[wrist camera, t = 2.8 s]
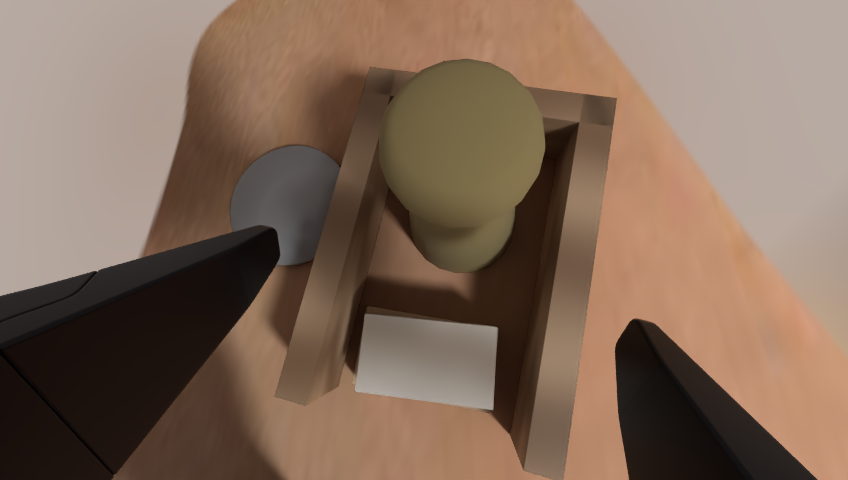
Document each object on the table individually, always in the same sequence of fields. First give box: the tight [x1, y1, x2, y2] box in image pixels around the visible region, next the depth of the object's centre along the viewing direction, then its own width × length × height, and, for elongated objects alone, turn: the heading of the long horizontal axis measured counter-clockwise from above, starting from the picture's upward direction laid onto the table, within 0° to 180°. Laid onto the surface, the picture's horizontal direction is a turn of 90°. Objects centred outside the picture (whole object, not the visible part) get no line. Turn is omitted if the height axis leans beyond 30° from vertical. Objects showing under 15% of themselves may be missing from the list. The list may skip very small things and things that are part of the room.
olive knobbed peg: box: [379, 59, 545, 273], centre depth 15 cm, size 6×6×11 cm
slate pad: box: [230, 146, 340, 266], centre depth 21 cm, size 8×8×1 cm
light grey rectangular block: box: [352, 306, 499, 413], centre depth 18 cm, size 4×7×3 cm, turn 81°
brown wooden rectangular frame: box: [274, 67, 617, 480], centre depth 18 cm, size 17×12×4 cm
